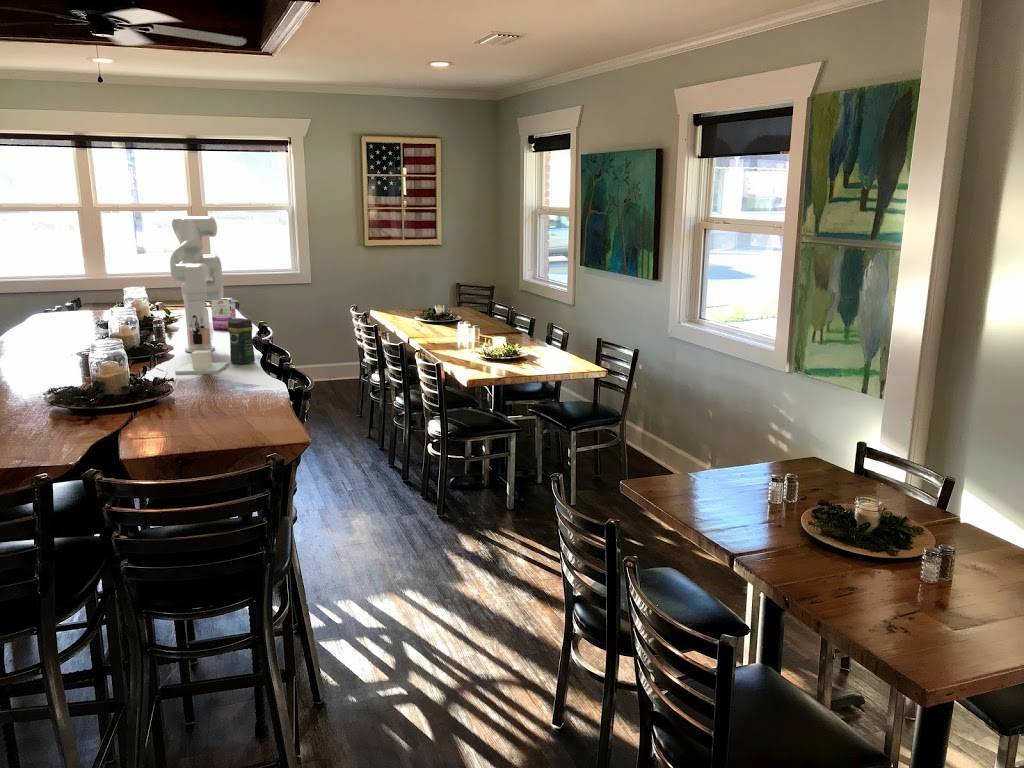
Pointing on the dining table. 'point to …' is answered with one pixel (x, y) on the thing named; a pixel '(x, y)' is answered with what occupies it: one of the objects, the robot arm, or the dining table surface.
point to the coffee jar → (241, 341)
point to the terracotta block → (205, 337)
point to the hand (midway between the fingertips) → (200, 342)
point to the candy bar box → (222, 312)
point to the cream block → (201, 359)
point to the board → (202, 369)
